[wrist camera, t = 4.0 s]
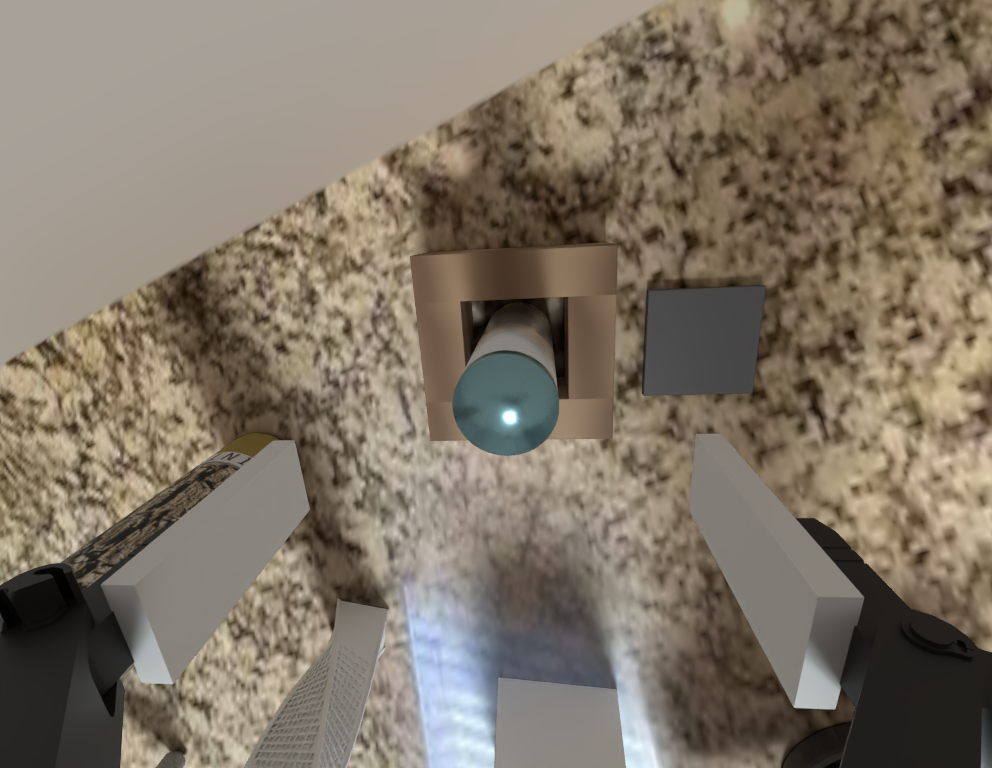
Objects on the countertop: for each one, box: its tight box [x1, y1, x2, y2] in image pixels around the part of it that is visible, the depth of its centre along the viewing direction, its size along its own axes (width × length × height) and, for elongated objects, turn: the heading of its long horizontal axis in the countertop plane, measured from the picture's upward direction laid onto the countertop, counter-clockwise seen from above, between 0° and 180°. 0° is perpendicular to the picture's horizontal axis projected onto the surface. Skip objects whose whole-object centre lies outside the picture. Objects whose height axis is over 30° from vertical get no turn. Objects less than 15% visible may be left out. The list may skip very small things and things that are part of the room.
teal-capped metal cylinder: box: [452, 303, 559, 456], centre depth 29 cm, size 5×5×15 cm
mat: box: [642, 285, 766, 396], centre depth 34 cm, size 8×8×1 cm
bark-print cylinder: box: [61, 433, 280, 680], centre depth 30 cm, size 7×7×25 cm
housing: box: [410, 242, 618, 441], centre depth 33 cm, size 13×13×5 cm
